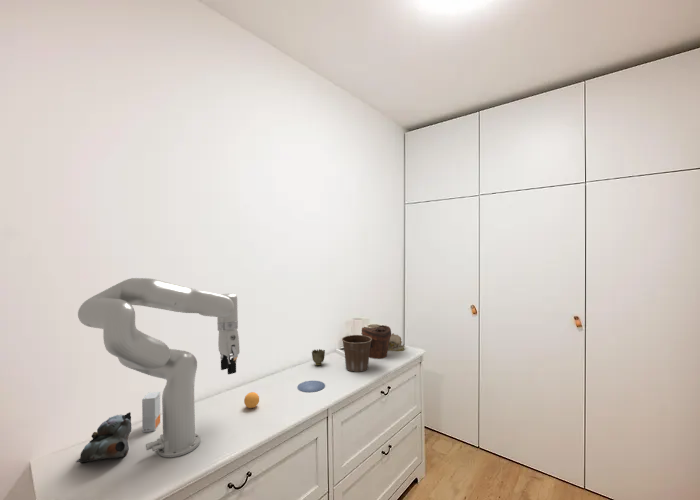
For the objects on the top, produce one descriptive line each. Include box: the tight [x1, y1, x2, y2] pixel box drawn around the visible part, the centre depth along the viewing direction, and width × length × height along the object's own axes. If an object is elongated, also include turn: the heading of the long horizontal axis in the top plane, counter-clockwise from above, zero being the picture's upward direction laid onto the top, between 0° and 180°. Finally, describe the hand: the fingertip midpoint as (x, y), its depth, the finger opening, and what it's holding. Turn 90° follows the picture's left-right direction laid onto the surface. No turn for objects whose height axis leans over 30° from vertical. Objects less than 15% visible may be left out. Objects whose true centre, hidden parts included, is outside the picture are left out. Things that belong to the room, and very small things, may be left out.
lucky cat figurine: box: [75, 411, 132, 464], centre depth 107 cm, size 15×12×14 cm
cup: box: [311, 348, 326, 367], centre depth 187 cm, size 8×7×8 cm
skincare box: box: [141, 391, 161, 433], centre depth 123 cm, size 6×4×12 cm
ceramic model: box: [388, 332, 405, 352], centre depth 215 cm, size 14×11×10 cm
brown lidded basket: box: [360, 324, 392, 359], centre depth 203 cm, size 18×20×18 cm
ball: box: [243, 391, 260, 409], centre depth 137 cm, size 6×6×6 cm
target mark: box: [296, 380, 326, 393], centre depth 158 cm, size 13×13×1 cm
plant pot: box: [341, 334, 372, 373], centre depth 181 cm, size 16×16×16 cm
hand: (228, 370), depth 131 cm, fingers open, 5 cm apart
